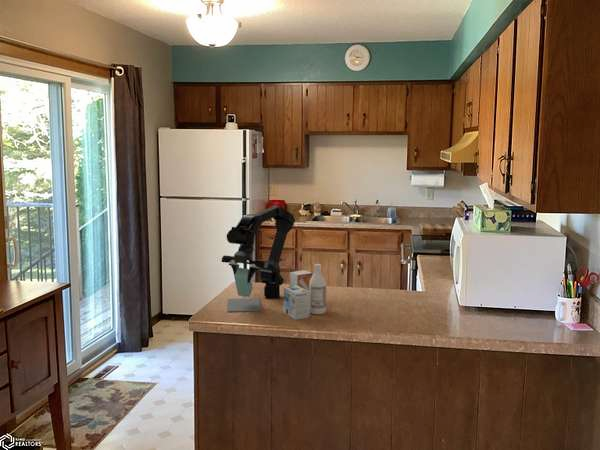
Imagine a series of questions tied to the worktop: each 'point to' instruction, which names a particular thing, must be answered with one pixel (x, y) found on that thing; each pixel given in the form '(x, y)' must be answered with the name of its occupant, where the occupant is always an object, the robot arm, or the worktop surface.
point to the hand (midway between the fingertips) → (242, 282)
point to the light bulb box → (296, 302)
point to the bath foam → (317, 292)
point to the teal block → (243, 282)
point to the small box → (300, 279)
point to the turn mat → (243, 305)
